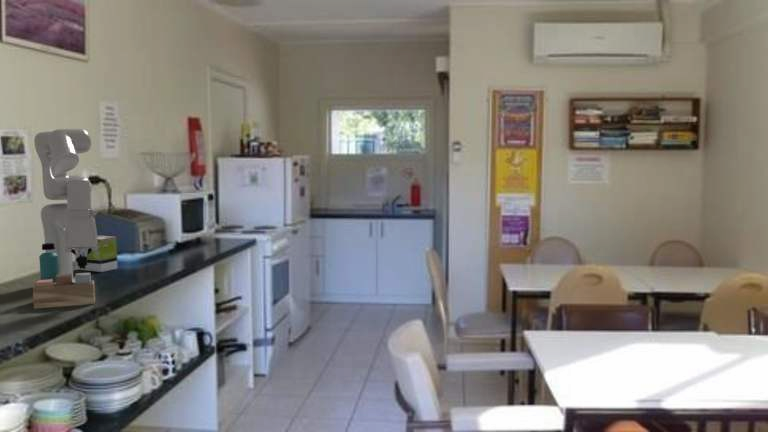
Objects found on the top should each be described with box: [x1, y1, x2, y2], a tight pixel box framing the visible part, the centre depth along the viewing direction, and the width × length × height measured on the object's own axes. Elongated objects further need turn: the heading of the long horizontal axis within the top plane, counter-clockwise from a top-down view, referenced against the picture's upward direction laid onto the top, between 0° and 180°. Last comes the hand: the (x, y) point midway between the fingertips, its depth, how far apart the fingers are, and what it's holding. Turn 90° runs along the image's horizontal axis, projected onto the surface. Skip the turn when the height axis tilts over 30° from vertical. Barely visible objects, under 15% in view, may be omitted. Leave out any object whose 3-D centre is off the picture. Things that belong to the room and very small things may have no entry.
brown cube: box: [56, 274, 72, 286], centre depth 239 cm, size 5×5×5 cm
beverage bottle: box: [38, 242, 60, 283], centre depth 248 cm, size 6×7×20 cm
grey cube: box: [74, 272, 92, 285], centre depth 241 cm, size 5×5×5 cm
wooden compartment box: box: [32, 280, 96, 309], centre depth 240 cm, size 7×19×7 cm, turn 109°
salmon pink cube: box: [35, 279, 53, 287], centre depth 238 cm, size 5×5×5 cm
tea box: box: [74, 234, 118, 273], centre depth 310 cm, size 15×10×15 cm, turn 68°
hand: (82, 267), depth 241 cm, fingers closed
